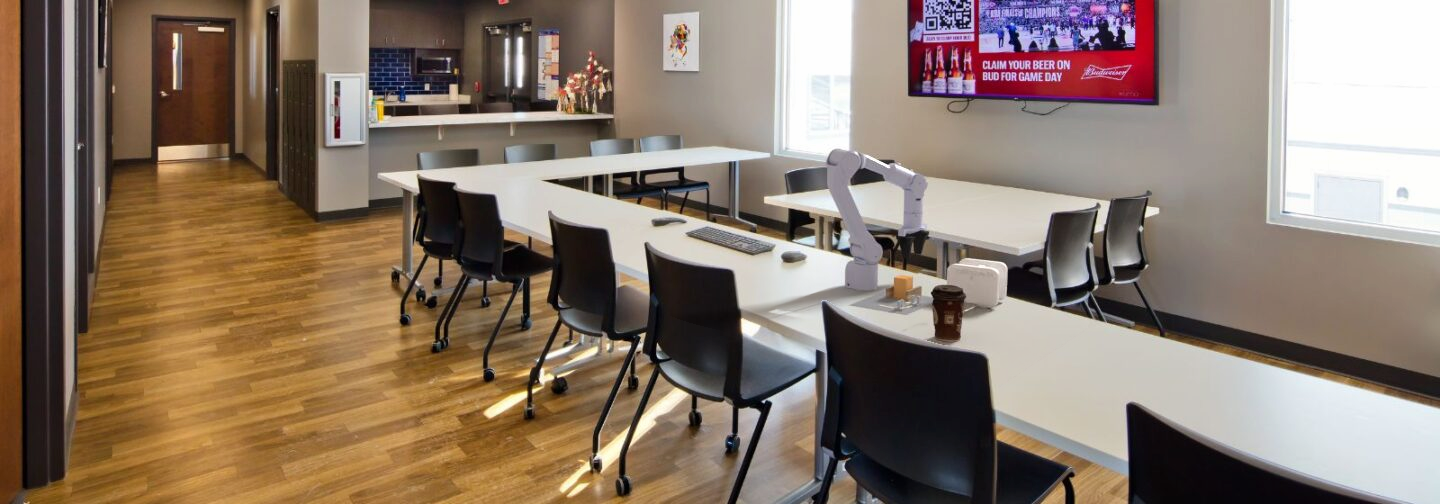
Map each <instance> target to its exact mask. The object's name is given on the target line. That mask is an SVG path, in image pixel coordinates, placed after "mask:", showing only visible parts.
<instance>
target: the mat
mask: <svg viewBox="0 0 1440 504" xmlns="http://www.w3.org/2000/svg"><path fill="white" fill-rule="evenodd" d="M932 302H933V297H932V296H927V295H922V294H921V297H920V296H917V298H916V299H915V295H912V300H911V301H909V302H906V299H899V298H894V297H891V298H889V299H887V298H886V290H885V291H881V292H880V293H877V294H874V295H871V296H869V297H866V298H864V299H861V300H859V301H856V302H853V303H851V304H849V306H852V307H856V308H857V307H858V308H863V309H868V310H869V309H870V310H875V311H882V312H887V313H892V314H898V315H905V316H907V315H909V314H912V313H914V312H916V311H918V310H921V309H924V308H927V307H928V306H932Z"/></svg>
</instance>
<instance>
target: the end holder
mask: <svg viewBox="0 0 1440 504" xmlns="http://www.w3.org/2000/svg"><path fill="white" fill-rule="evenodd" d="M922 290H923V289H922V285H919V286H915V287H913V289H910V290H908V291H906V302H909V301H911V300H912V295H915V299H916V298H917V296H920V297H921V295H922ZM885 291H886V298H887V299H889V298H891V297H894V284H893V285H891V286H889V287H885Z"/></svg>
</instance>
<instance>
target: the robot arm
mask: <svg viewBox="0 0 1440 504" xmlns="http://www.w3.org/2000/svg"><path fill="white" fill-rule="evenodd" d="M825 166H826V169H827V170H826V171H827V172H826V185H827V188H828V190H829V192H830V196H831V197H832V199H833V202H834V203H835V206H836V208H837V210H838V212H839V214H840V217H841V219H842V221H843V223H844V226H845V228H846V230H847V233H848V234H849V238H848V240H847V241H848V244H849V251H850V254H851V256H852V257H853V260H849V261H847V263H846V265H845V268H844V288H847V289H852V290H853V289H854V290H856V291H864V292H865V291H866V292H869V291H876V290H877V289H878V288H879V287H878V286H879V284H878V283H879V280H878V279H879V278H878V277H879V262H880V260H881V258H882V257H883V252H884V250H883V247H882V245H881V243H878V242H877V241H876V239H875V237H874V236H873V235H872V234H871V233H870V232H869V231H868V229H867V227H866V225H865V222H864V220H863V217H862V216H861V213H860V211H859V208H858V206H857V204H856V202H855V200H854V197H853V195H852V193H851V191H850V189H849V186H848V184H849V182H850V180H851V179H852V178H853V176H854V175H855V174H856V172H857V171H859V169H860V170H862V169H864V168H865V169H867V170H869V171H872V172H875V173H877V174H879V175H882V176H883V177H882V178H883V179H884V181H885V182H888V183H891V184H893V185H895V186H897V187H899V188H901V189H902V190H903V218H902V219H903V223H902V225H903V226H902V227H901V228H899V229H898V231H897V232H898V233H897V234H896V235H895V239H896V240H897V243H898V245H899V249H900V251H901V256H902V258H903V259H911V255H912V254H911V253H912V246H913V253H914V255H922V253H923V250H924V246H925V242H926V240H927V238H928V236H929V235H930V231H929V230H927V227H928V226H927V223H925V222H924V223H923V221H924V220H923V215H924V214H923V213H924V196H925V191H926V190H927V188H928V185H929V183H928V182H927V179H926V177H925V175H923V174H921V173H917V172H914V169H911V168H908V169H907V168H905V167H903V166H902V163H899V162H895V163H894V162H891V163H889V164H886V163H884V162H882V161H881V160H878V159H876V158H874V157H872V156H870V155H867V154H865V153H861V152H859V151H858V152H857V151H855V150H846V149H843V148H842V149H841V148H834V149H832V150H831V151H829V154H828V156H827V157H826V161H825Z"/></svg>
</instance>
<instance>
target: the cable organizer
mask: <svg viewBox="0 0 1440 504" xmlns="http://www.w3.org/2000/svg"><path fill="white" fill-rule="evenodd" d="M1008 270H1009V269H1008V266H1007V265H1006V263H1004V262H1002V261H997V260H996V261H995V260H985V259H977V258H969V257H966V258H962V259H960V261H959V262H958V263H952V264H950V265H949V266H948V267H947V269H946V285H955V286H958V287H960V288H962V289H963V292H964V293H965V294H966V298H965V300H964V303H967V304H974V306H975V307H977V308H983V309H987V308H993V307H995V306H997V305H998V304H999V301H1002V300H1004V299H1005V298H1006V297H1007V295H1008V294H1007V291H1008V290H1007V289H1008V287H1007V286H1008V273H1009V272H1008Z"/></svg>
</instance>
